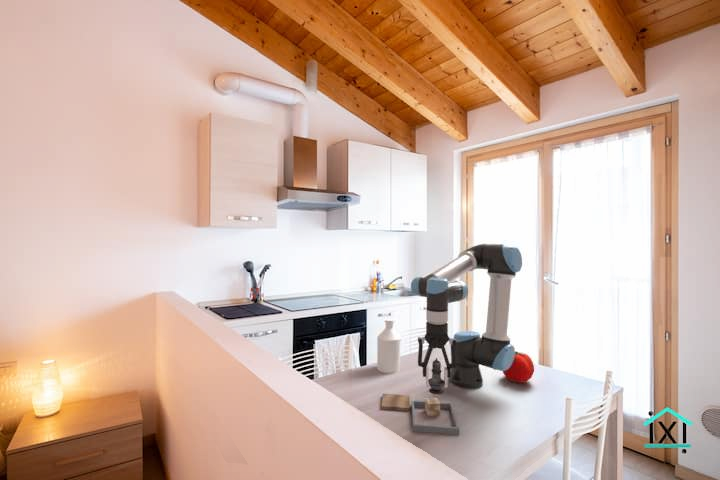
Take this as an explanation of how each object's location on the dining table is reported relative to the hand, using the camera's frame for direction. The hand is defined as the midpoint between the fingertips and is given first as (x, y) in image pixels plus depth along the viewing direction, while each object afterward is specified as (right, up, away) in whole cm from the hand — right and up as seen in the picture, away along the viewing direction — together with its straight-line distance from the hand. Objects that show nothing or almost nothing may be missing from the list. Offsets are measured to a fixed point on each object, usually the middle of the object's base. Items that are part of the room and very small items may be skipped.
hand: (436, 385), depth 127 cm
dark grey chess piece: (0, -2, 0) cm, 2 cm away
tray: (0, -14, +4) cm, 14 cm away
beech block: (0, -14, +9) cm, 16 cm away
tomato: (+47, -14, +40) cm, 63 cm away
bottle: (-13, -13, +53) cm, 56 cm away
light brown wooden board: (-13, -13, +15) cm, 24 cm away
